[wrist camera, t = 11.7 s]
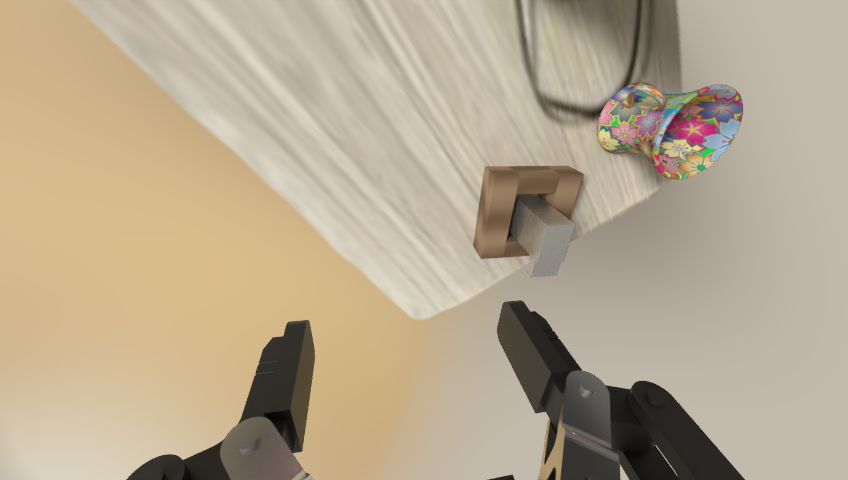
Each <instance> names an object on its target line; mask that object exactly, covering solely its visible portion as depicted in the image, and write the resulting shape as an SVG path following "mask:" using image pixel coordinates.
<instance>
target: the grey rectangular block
mask: <svg viewBox="0 0 848 480" xmlns="http://www.w3.org/2000/svg"><path fill="white" fill-rule="evenodd" d="M575 225H576V224H574V223H573V222H572V221H570V220H569V219H568V218H566V217H565V216H564V215H562V214H561V213H560V212H559V211H557V210H556V209H555V208H553V207H552V206H551V205H549V204H548V203H547V202H545V201H544V200H543V199H542V198H540V197H539V196H538V195H536V194H516V197H515V202H514V207H513V212H512V216H511V221H510V226H509V232H510V233H511V234H512V235H513V236H514V237H515V239H516V240H517V241H518V242H519V243H520V244H521V245H522V247H523V248H524V249H525V250H526V251H527V252H528V253H529V254H530V256H531V260H530V264H529V268H528V271H527V273H528V274H529V275H530V277H540V276H553V275H557V272H558V269H559V266H560V263H561V261H564V258H565V255H566V252H567V249H568V246H569V243H570V240H571V237H572V234H573V231H574V228H575Z"/></svg>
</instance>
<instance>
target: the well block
mask: <svg viewBox="0 0 848 480" xmlns="http://www.w3.org/2000/svg"><path fill="white" fill-rule="evenodd" d="M583 175H584V174H582V173H581V172H579V171H577V170H575V169H573V168H571V167H569V166H508V167H485V170H484V176H483V183H482V190H481V197H480V203H479V210H478V217H477V224H476V230H475V237H474V244H473V246H474V248H475V249H476V251H477V253H478V254H479V256H480V258H481V259H484V258H499V257H514V256H529V255H530V254H529V253H528V252H527V251H526V250H525V249H524V248H523V247H522V245H521V244H520V243H519V242H518V241H517V240H516V239H515V237H514V236H513V235H512V234H511V233H510V232H509V226H510V221H511V216H512V212H513V207H514V202H515V197H516V194H539V197H540V198H542V199H543V200H544V201H545V202H547V203H548V204H549V205H551V206H552V207H553V208H555V209H556V210H557V211H559V212H560V213H561V214H562V215H564V216H565V217H566V218H568V219H570V216H571V213H572V210H573V207H574V203H575V200H576V197H577V194H578V191H579V188H580V184H581V181H582V178H583Z"/></svg>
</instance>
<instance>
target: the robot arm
mask: <svg viewBox="0 0 848 480" xmlns="http://www.w3.org/2000/svg"><path fill="white" fill-rule="evenodd" d="M497 333H498V339H499V341H500V344H501V346H502V348H503V349H504V351H505V353H506V356H507V358H508V360H509V362H510V363H511V365H512V368H513V370H514V372H515V374H516V376H517V378H518V380H519V382H520V384H521V385H522V387H523V390H524V391H525V393H526V395H527V397H528V399H529V401H530V403H531V405H532V407H533V409H534V411H535V413H541V412H546V413H547V415H548V416H549V420H548V423H547V430H546V437H545V443H544V450H543V457H542V464H541V469H540V474H539V477H538V480H620V464H621V466H622V468H623V470H624V471H625V473H626V474H627V476H628V478H629V480H745V479H744V478H743V477H742V476H741V475H740V473H739V472H738V471H737V470H736V469H735V468H734V467H733V465H732V464H731V463H730V462H729V461H728V460H727V458H726V457H725V456H724V455H723V454H722V453H721V452H720V450H718V448H717V447H716V446H715V445H714V444H713V442H712V441H711V440H710V439H709V438H708V437H707V436H706V434H705V433H704V432H703V431H702V430H701V429H700V428H699V426H698V425H697V424H696V423H695V422H694V420H693V419H692V418H691V417H690V416H689V415H688V414H687V413H686V411H685V410H684V409H683V408H682V407H681V406H680V404H679V403H678V402H677V401H676V400H675V399H674V397H672V395H671V394H670V393H668V392H667V391H666V390H665V389H663V388H662V387H660V386H658V385H656V384H654V383H651V382H648V381H638V382H636V383H634V385H633V386H632V388H631V389H624V388H618V387H612V386H607V385H605V384H604V383H603V382H602V381H601V380H600V379H599V378H598V377H596V376H595V375H593V374H591V373H589V372H586V371H582V369H581V368H580V367H579V365H578V364H577V363H576V361H575V360H574V358H573V357H572V356H571V355H570V353H569V352H568V350H567V349H566V347H565V346H564V345H563V343H562V342H561V341H560V339H558V336H557V335H556V334H555V332H554V331H552V328H551V327H550V325H549V324H548V322H547V321H546V320H545V319H544V318H543V317H542V316H540V315H539V314H538V313H536V312H535V311H533V312H530V311H529V309H528V308H527V306H526V305H525V304H524V302H523V301H521V300H520V301H510V302H504V303H503V305H502V309H501V314H500V318H499V322H498V327H497ZM314 361H315V351H314V344H313V338H312V333H311V327H310V322H309V320H303V321H292V322H288V323H287V325H286V329H285V332H284V336H283V337H274V338H272V339H271V341H270V342H269V343H268V344H267V345H266V347H265V348H264V349H263V351H262V355H261V358H260V361H259V365H258V367H257V370H256V376H254V380H253V383H252V386H251V389H250V392H249V395H248V398H247V401H246V405H245V408H244V411H243V414H242V417H241V420H240V421H239V423H238V425H236V426H235V427H234V428H233V429H232V430H231V431H230V432H229V433H228V435H227V436H226V438H225V439H224V440H223V441H221V442H220V443H218V444H217V445H215V446H213V447H211V448H209V449H207V450H204V451H202V452H200V453H198V454H195V455H193V456H191V457H189V458H187V459H184V460H182V459H181V458H180V457H178V456H176V455H169V454H168V455H162V456H159V457H156V458H154V459H152V460H150V461H148V462H147V463H145V464H143V465H142V466H140V467H139V468H138V469H137V470H135V472H134V473H132V474H131V475H130V476H129V478H128V479H127V480H314V479H313V478H312V477H311V475H310V474H307V473H306V472H305V471H304V470H303V468H302V467H301V465H300V464H299V462H298V461H297V459H296V458H295V456H294V455H293V453H296V452H302V449H303V442H304V434H305V427H306V420H307V413H308V406H309V398H310V391H311V384H312V376H313V369H314ZM655 445H657V447H658V448H659V449H660V451H661V452H662V454H663V455H664V456H665V458H666V459H667V461H668V462H669V463H670V465H671V466H672V468H673V469H674V470H675V472H676V474H677V475H676V474H675V472H674V471H673V470H672V468H671V467H670V466H669V464H668V463H667V461H666V460H665V458H664V457H663V456H662V454H661V453H660V451H659V450H658V449H657V447H656V446H655ZM677 476H678V477H677ZM489 480H514V477H513V475H508V476H503V477H499V478H494V479H489Z"/></svg>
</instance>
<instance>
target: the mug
mask: <svg viewBox="0 0 848 480" xmlns="http://www.w3.org/2000/svg"><path fill="white" fill-rule="evenodd" d="M742 114H743V104H742V99H741V96H740V94H739V93H738V92H737V91H736V90H735V89H734V88H732V87H730V86H727V85H721V84H720V85H711V86H708V87H705V88H702V89H699V90H696V91H693V92H689V93H683V94H665V93H661V92H660V91H659V90H657V89H656V88H655V87H654V86H652V85H650V84H648V83H643V82H639V83H634V84H630V85H628V86H626V87H624V88H622V89H621V90H619V91H618V92H617V93H616V94H615V95H614V96H612V98H611V99H610V100H609V101H608V102H607V104H606V105H605V107H604V108H603V110H602V112H601V115H600V117H599V121H598V126H597V135H598V139H599V142H600V144H601V145H602V147H603V148H605V149H606V150H607V151H609V152H613V153H623V152H627V151H629V152H635V153H638V154H640V155H642V156H644V157H646V158H647V159H648V160H650V161H651V162H652V163H653V164H654V166H655V167H656V168H657V170H658V171H659V172H660V173H661V174H662V175H663V176H665V177H667V178H670V179H684V178H688V177H691V176H694V175H696V174H698V173H700V172H702V171H703V170H705V169H706V168H708V167H709V166H710V165H712V164H713V163H714V162H715V161H716V160H717V159H718V158H719V157H720V156H721V155H722V154H723V153H724V152H725V151H726V149H727V148H728V146H729V145H730V144H731V142H732V141H733V139H734V137H735V135H736V133H737V131H738V129H739V126H740V123H741V119H742Z"/></svg>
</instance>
